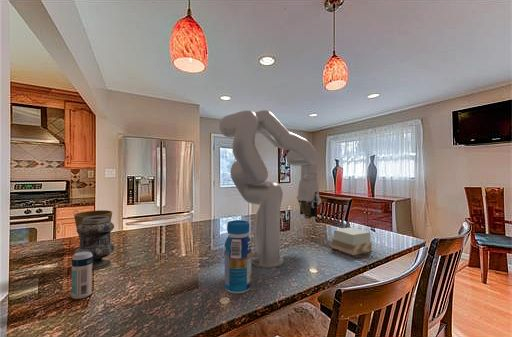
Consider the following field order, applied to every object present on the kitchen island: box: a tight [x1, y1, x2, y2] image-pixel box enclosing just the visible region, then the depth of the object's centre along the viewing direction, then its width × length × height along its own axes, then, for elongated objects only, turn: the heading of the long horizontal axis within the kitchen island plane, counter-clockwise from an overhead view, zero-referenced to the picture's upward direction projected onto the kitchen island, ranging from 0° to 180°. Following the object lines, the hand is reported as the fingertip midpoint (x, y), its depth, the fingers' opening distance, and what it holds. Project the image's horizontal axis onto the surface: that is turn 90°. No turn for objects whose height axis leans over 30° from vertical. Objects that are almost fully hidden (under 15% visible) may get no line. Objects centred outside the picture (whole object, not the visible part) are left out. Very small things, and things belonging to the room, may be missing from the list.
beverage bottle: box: [223, 219, 253, 295], centre depth 75 cm, size 8×8×20 cm
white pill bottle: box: [70, 251, 93, 300], centre depth 69 cm, size 5×5×12 cm
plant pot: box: [73, 209, 113, 239], centre depth 114 cm, size 15×15×16 cm
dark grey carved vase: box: [74, 216, 115, 271], centre depth 92 cm, size 12×12×18 cm
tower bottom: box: [331, 238, 373, 256], centre depth 113 cm, size 12×12×4 cm
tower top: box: [333, 226, 371, 245], centre depth 113 cm, size 11×11×4 cm
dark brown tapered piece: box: [301, 201, 315, 220], centre depth 115 cm, size 8×7×8 cm
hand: (308, 215), depth 115 cm, fingers closed on dark brown tapered piece, 6 cm apart
